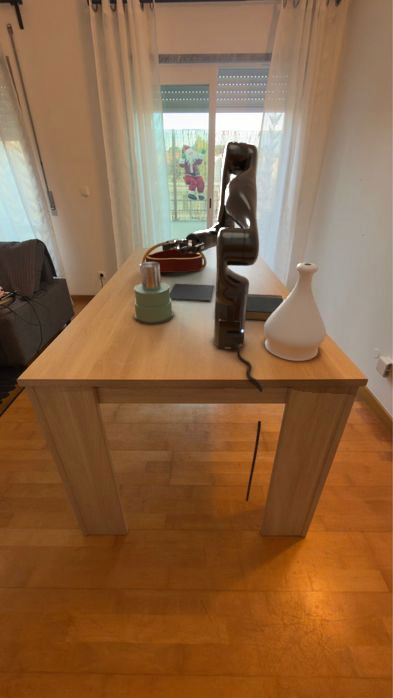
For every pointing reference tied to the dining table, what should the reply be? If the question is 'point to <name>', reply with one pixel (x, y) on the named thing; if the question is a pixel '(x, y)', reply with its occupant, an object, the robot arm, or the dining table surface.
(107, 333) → the dining table surface
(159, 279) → the steel cup
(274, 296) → the book
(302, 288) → the vase
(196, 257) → the decorative basket
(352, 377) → the dining table surface
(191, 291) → the slate mat
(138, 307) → the green round container
